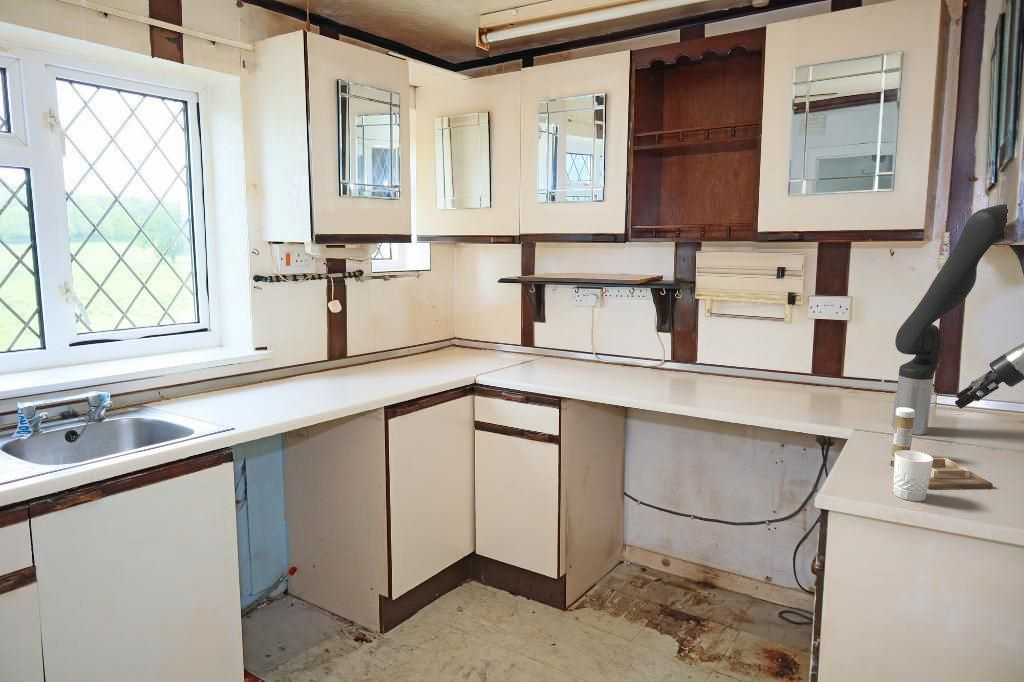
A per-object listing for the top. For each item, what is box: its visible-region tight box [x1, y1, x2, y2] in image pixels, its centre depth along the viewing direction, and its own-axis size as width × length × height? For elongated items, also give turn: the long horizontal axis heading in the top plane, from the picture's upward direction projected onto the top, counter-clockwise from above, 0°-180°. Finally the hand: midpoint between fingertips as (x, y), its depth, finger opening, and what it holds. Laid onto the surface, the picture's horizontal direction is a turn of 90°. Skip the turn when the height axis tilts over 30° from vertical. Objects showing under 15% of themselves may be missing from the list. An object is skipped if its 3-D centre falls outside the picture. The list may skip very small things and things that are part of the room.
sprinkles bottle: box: [891, 407, 915, 457], centre depth 189 cm, size 5×5×13 cm
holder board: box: [889, 457, 993, 490], centre depth 175 cm, size 16×16×3 cm
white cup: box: [892, 450, 934, 502], centre depth 162 cm, size 8×8×10 cm
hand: (957, 401), depth 180 cm, fingers open, 8 cm apart
